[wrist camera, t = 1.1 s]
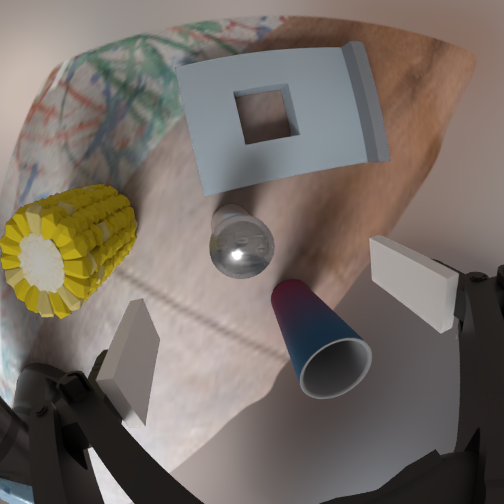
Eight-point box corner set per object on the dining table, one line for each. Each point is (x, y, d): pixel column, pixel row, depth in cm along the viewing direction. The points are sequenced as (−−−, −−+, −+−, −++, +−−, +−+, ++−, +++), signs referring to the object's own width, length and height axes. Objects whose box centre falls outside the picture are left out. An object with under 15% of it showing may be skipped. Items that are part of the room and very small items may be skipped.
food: (153, 238, 33) (85, 263, 33) (115, 147, 27) (45, 182, 27) (133, 331, 20) (45, 351, 20) (54, 192, 14) (-30, 244, 14)
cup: (266, 271, 35) (307, 341, 21) (319, 272, 36) (381, 333, 22) (261, 321, 37) (293, 403, 23) (310, 319, 38) (360, 392, 24)
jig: (204, 193, 31) (204, 199, 26) (177, 75, 27) (172, 59, 22) (365, 159, 33) (390, 160, 28) (341, 55, 29) (362, 41, 24)
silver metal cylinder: (214, 251, 33) (219, 285, 24) (202, 207, 32) (202, 225, 22) (258, 239, 34) (279, 269, 24) (248, 196, 32) (267, 208, 23)
